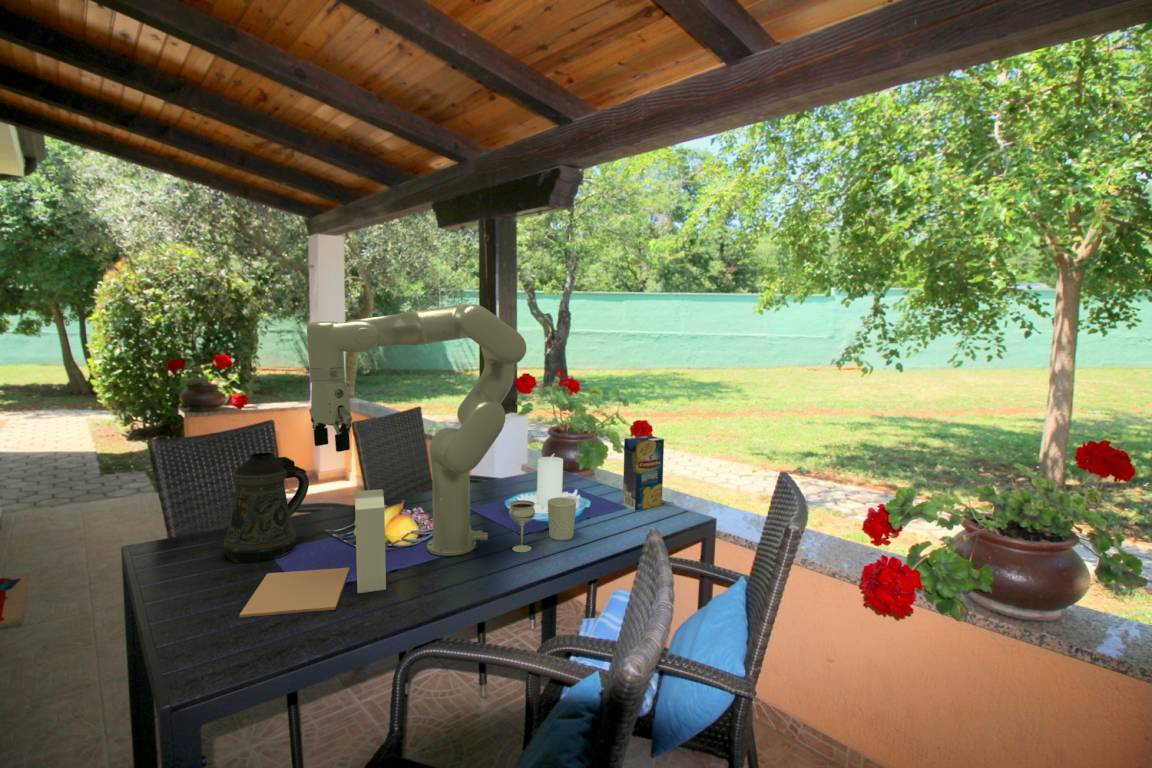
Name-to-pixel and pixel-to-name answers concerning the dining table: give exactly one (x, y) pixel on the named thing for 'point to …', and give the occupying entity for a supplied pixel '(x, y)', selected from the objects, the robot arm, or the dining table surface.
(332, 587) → the mat
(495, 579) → the dining table surface
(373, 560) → the milk
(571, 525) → the beige tumbler cup
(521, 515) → the wineglass
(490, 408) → the robot arm
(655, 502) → the blue cardboard tall box
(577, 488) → the dining table surface
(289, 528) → the beer stein
